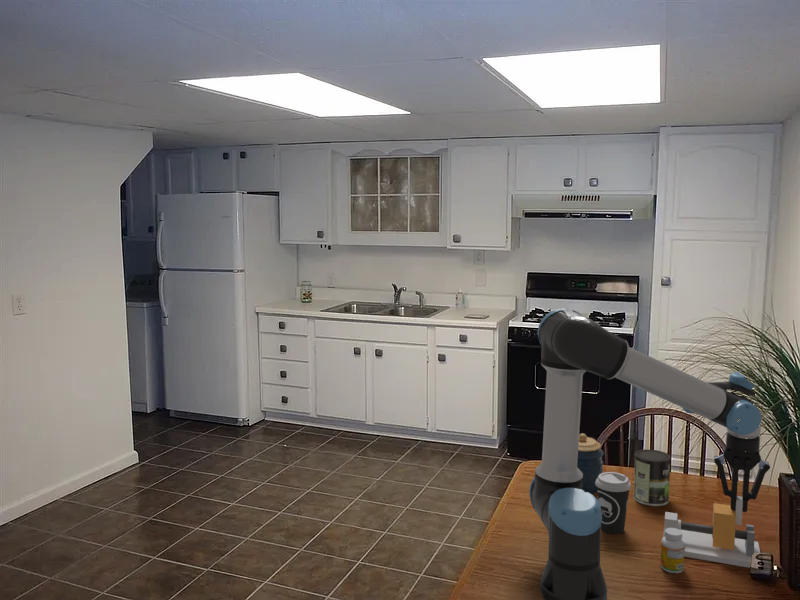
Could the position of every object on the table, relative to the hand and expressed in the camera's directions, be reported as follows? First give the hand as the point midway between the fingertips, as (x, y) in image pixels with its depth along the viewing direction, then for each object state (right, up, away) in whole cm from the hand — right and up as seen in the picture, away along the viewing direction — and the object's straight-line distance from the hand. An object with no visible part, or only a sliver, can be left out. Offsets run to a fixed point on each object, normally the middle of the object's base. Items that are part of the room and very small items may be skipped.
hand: (737, 522), depth 175 cm
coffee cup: (-27, -7, +16) cm, 32 cm away
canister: (-28, -3, +44) cm, 53 cm away
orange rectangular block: (-3, -6, +2) cm, 7 cm away
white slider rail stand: (-5, -8, +4) cm, 11 cm away
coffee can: (-10, -4, +35) cm, 36 cm away
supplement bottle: (-19, -10, -5) cm, 22 cm away
